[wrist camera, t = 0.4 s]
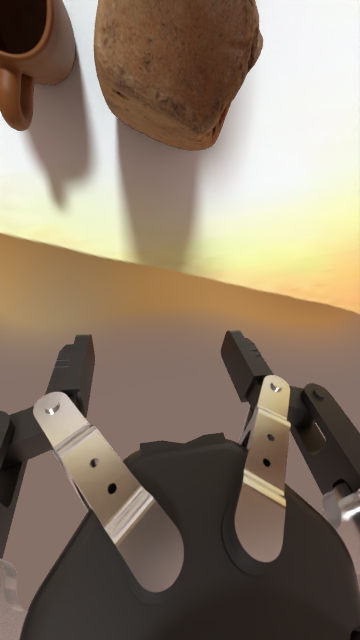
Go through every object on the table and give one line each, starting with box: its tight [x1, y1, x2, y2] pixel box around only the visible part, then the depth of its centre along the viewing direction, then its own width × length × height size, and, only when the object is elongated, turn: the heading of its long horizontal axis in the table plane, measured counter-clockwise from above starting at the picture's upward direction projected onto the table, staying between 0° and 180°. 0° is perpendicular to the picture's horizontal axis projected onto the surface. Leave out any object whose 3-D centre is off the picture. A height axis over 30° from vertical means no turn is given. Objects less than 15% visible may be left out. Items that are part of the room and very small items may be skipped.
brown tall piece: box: [94, 0, 263, 151], centre depth 20 cm, size 11×8×20 cm
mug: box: [0, 0, 75, 131], centre depth 20 cm, size 12×8×9 cm, turn 162°
